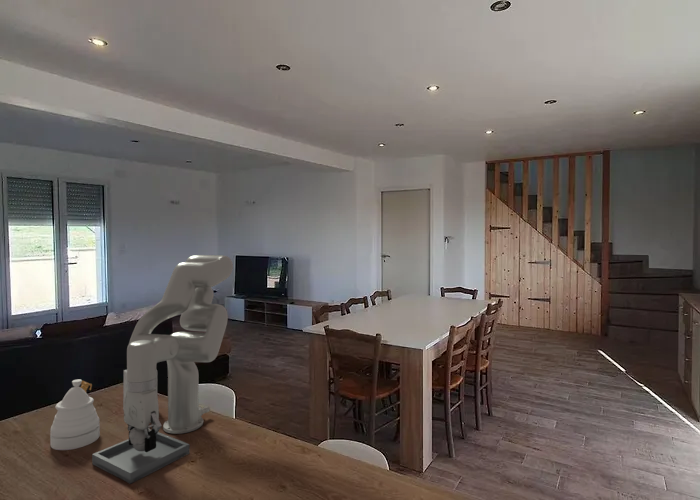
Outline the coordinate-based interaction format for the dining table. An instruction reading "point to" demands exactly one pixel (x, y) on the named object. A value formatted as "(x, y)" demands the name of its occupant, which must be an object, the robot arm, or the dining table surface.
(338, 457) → the dining table surface
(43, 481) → the dining table surface
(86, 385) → the figurine
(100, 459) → the tray
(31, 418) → the dining table surface
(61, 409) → the honey pot
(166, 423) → the robot arm
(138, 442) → the frog figurine
